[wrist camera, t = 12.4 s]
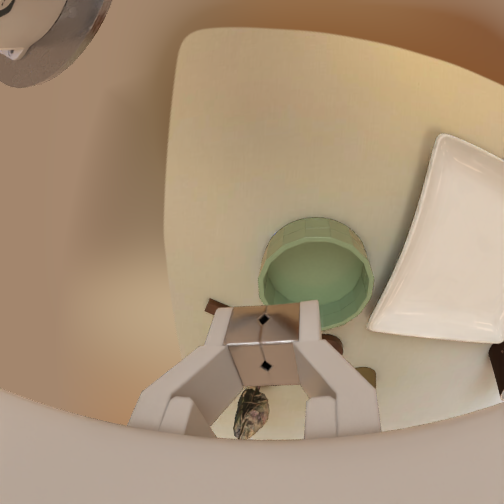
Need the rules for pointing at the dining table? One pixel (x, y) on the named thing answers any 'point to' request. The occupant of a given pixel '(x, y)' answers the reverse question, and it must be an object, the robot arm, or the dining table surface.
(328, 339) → the wooden paddle
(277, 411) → the dining table surface
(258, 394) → the plant with pod
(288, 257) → the bowl
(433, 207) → the square plate
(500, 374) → the coffee mug
